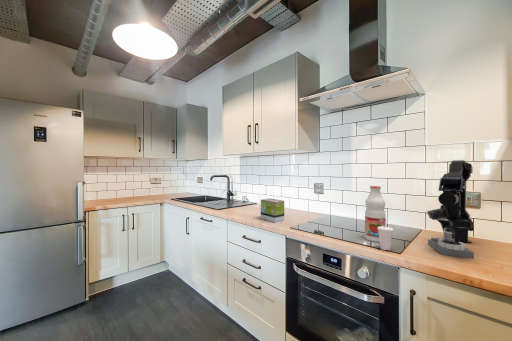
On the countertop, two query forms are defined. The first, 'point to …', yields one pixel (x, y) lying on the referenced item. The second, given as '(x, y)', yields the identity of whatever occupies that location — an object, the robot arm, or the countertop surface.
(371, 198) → the fruit juice
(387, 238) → the smoothie
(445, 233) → the lens
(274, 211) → the tea box
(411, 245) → the countertop surface
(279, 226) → the countertop surface
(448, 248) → the camera body
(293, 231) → the countertop surface
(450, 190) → the robot arm
